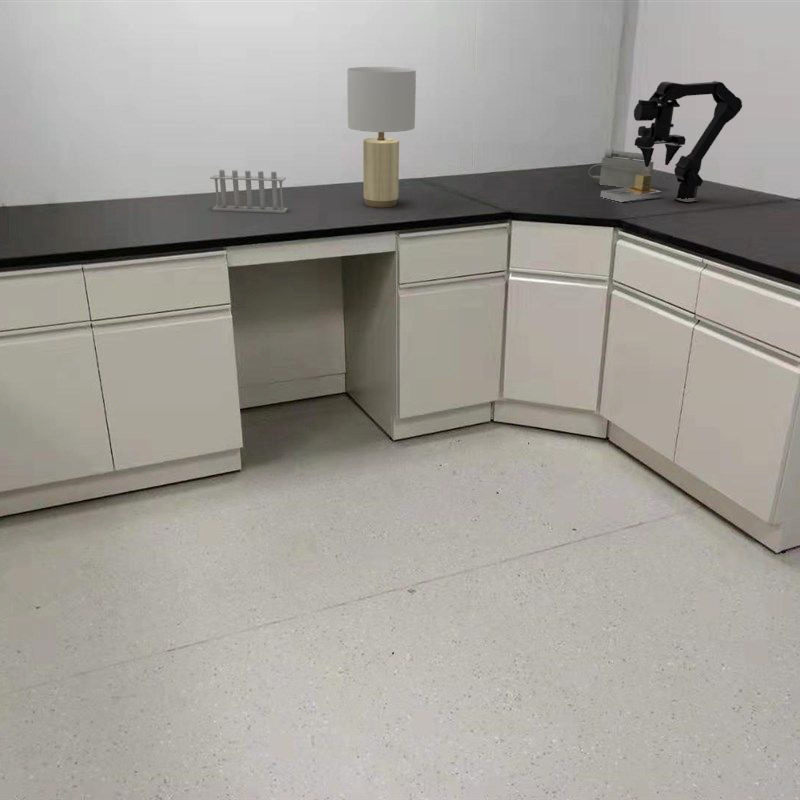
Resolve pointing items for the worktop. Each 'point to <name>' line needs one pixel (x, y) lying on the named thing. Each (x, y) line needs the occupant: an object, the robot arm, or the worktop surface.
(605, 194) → the rail plate
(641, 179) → the brass peg
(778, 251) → the worktop surface
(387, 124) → the lamp
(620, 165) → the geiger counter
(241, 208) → the test tube rack
